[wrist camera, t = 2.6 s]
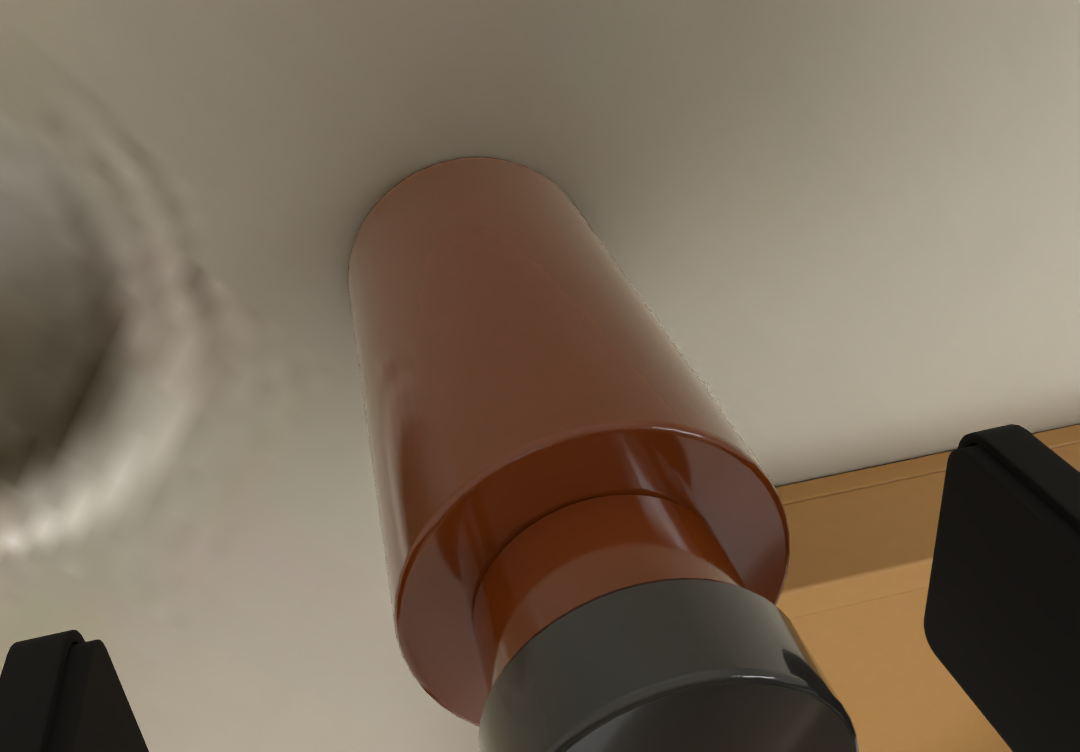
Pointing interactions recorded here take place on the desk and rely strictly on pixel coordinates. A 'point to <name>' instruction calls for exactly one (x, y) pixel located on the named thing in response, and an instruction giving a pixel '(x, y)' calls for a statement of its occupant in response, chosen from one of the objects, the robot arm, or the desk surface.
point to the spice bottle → (565, 490)
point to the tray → (883, 600)
